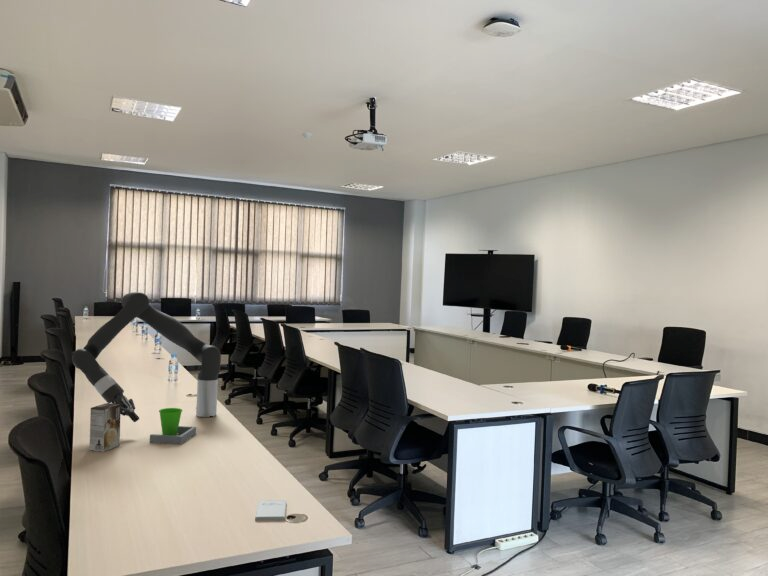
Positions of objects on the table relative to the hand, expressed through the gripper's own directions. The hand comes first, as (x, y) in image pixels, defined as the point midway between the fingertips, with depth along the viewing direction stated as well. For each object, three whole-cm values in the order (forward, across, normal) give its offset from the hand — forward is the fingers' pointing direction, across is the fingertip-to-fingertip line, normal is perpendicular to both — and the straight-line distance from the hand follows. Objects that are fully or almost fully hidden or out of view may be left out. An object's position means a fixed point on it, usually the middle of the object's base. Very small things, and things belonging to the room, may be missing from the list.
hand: (137, 420), depth 236 cm
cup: (+14, +1, -5) cm, 15 cm away
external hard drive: (+56, -66, -46) cm, 97 cm away
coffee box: (+2, -18, +7) cm, 20 cm away
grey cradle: (+15, 0, -6) cm, 16 cm away
